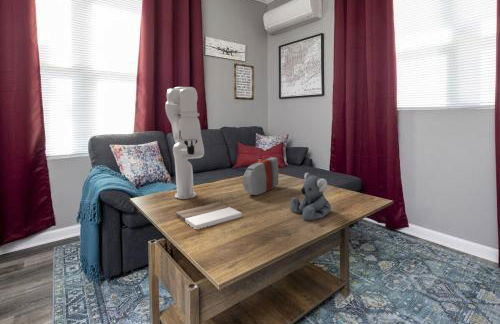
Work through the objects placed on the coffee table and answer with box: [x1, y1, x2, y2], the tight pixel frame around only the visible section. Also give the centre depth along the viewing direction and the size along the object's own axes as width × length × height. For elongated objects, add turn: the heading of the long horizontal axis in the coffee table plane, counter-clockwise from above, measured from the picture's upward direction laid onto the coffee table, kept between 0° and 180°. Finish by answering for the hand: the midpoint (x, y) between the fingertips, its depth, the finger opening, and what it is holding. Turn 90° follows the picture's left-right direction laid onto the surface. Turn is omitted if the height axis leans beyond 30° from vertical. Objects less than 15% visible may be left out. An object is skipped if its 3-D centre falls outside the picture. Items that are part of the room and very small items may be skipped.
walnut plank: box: [175, 201, 229, 223], centre depth 141 cm, size 10×24×2 cm, turn 128°
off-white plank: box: [184, 206, 243, 230], centre depth 133 cm, size 10×24×2 cm, turn 128°
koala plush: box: [289, 171, 332, 221], centre depth 138 cm, size 17×18×20 cm
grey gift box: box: [242, 156, 279, 196], centre depth 175 cm, size 19×6×30 cm
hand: (190, 154), depth 139 cm, fingers closed
